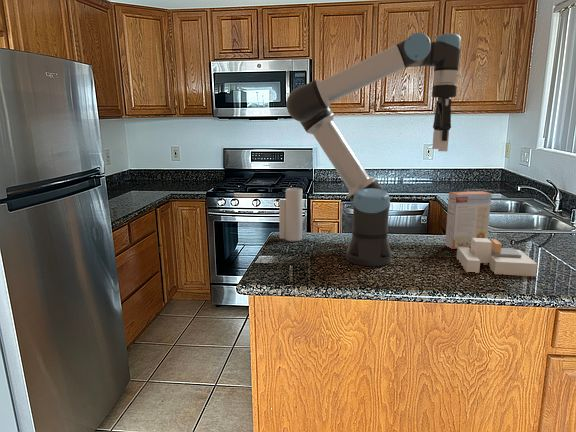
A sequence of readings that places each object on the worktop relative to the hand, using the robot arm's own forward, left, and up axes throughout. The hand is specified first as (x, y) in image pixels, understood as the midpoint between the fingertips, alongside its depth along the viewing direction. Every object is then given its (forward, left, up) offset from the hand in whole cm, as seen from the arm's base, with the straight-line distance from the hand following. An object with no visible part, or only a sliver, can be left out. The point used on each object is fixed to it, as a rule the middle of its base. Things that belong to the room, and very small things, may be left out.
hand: (439, 150), depth 147 cm
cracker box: (+14, +10, -37) cm, 41 cm away
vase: (-53, +11, -37) cm, 66 cm away
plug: (+14, -10, -37) cm, 40 cm away
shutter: (+21, -10, -32) cm, 40 cm away
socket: (+18, -12, -37) cm, 42 cm away
